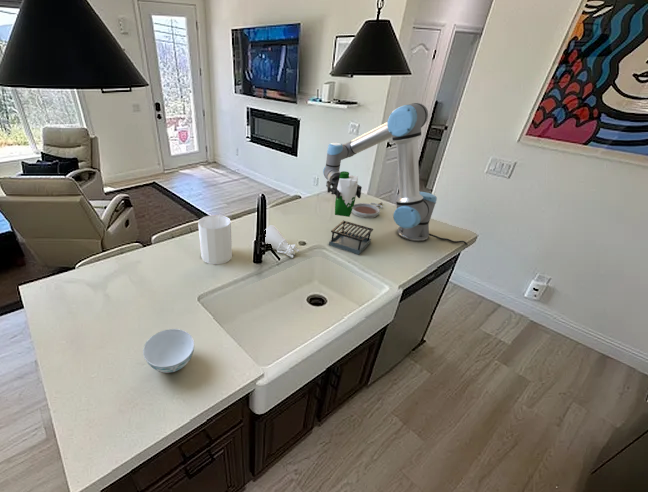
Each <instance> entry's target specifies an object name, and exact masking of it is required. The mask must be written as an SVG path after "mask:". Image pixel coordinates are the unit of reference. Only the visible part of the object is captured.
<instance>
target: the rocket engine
mask: <svg viewBox="0 0 648 492" xmlns="http://www.w3.org/2000/svg"><path fill="white" fill-rule="evenodd" d="M265 230H266V237H265V242H266V243H268V244H271V245H272V248H273V249H272V250H276V252H277V253H278V254H283V255H286V256H288V257H289V258H291V259H294V258H295V255H296V252H297V253H299V252H300V251H301V250H300V249H299V248H297V245H296V244H295V243H293V244H290V243H288V240H287V239H286V238H285V236H284V234H282V233H281V231H280V229H278V228H277V227H276V226H275V224H272V225H271V224H270V225H269V226H267V227H266V228H265ZM295 251H296V252H295Z"/></svg>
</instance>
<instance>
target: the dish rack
mask: <svg viewBox="0 0 648 492" xmlns="http://www.w3.org/2000/svg"><path fill="white" fill-rule="evenodd" d="M367 231H368V232H367ZM373 231H374V228H371V227H367V226H366V225H365V226H364V225H361V224H357V223H354V222H350V221H347V220H342V221H341V222H340V223H338V225H336V226H335V227H334V228H332V229H331V230H330V233H331V239H330V240H329V242H328V245H329V246H331V247H333V248H337V249H340V250H343V251H345V252H349V253H352V254H356V255H361V254H362V252H363V251H364V250H365V249H366V248H367V247H368V246H369V245H370V244H371V241H372V238H371V234H372V232H373ZM364 234H365V235H364ZM363 235H364V236H363Z"/></svg>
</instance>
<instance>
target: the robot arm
mask: <svg viewBox="0 0 648 492" xmlns="http://www.w3.org/2000/svg"><path fill="white" fill-rule="evenodd" d="M428 118H429V110H428V108H427V106H426V105H424V104H423V103H420V102H413V103H410V104H404V105H401V106H399V107H396V108H395V109H394V110H392V112H391V113H390V114H389V116H388V118H387V121H386V122H385V123H382V124H381V125H379V126H377V127H375V128H373V129H371V130H370V131H368V132H365V133H363V134H362V135H359V136H357V137H356V138H354V139H352V140H350V141H348V142H346V143H341V142H331V143H328V147H327V151H326V161H325V166H324V167H323V168H322V169H323V170H322V174H323V176H324V178H325V179H326V185H325V186H326V188H327V193H329V194H331V195H335V198H336V197H337V198H340V192H339V191H338V190H337V187H338V183H339V177H340V172H341V171H340V168H341V163H342V161H343V160H345V159H348V158H351V157H353V156H355V155H357V154H359V153H361V152H363V151H366V150H367V149H370V148H372V147H374V146H376V145H378V144H380V143H383V142H385V141H387V140H389V139H392V142H393V143H394V144H395V145H396V160H397V176H398V194H399V195H398V197H397V199H396V201H395V202H396V203H395V204H396V209H394V211H393V215H392V219H393V221H394V224H396V225H397V226H398V229H397V235H398V236H399V237H401V238H402V239H404V240H406V241H411V242H418V243H419V242H424V241H427V240H428V239H429V236H430V237H432V238H436V239H438V240H441V241H448V242H449V243H453V244H459V243H463V244H465V245H466V246H467V245H468V242H467V241H465V240H452V239H450V238H445V237H440V236H437V235H435V234H432V233H430V230H429V229H430V226H429V224H430V221H431V218H432V215H433V212H434V209H435V207H436V204H437V199H438V198H437V196H436V195H435V194H433V193H430V192H426V191H420V171H419V167H420V166H419V144H418V143H419V139H420V138H421V137H422V128H423V127H424V126H425V125H426V123H427V122H428ZM362 189H363V187H362V186H361V185H359V184H358V183H357V192H356V197H357V198H358V199H361V196H362Z"/></svg>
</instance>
